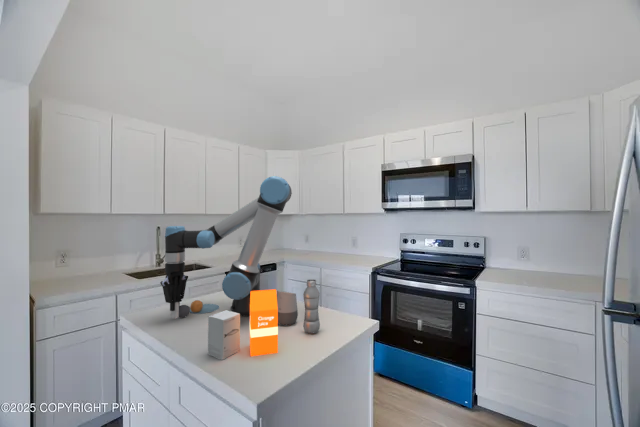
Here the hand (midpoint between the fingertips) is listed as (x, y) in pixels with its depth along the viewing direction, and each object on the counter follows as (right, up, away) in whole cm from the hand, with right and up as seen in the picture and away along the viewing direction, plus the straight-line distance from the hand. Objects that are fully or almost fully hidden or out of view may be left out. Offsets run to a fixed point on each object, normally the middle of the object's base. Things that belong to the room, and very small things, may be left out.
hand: (174, 317), depth 119 cm
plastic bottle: (+59, -2, -10) cm, 60 cm away
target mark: (+5, -2, +17) cm, 18 cm away
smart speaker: (+48, -2, -1) cm, 48 cm away
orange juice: (+43, -2, -25) cm, 49 cm away
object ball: (+4, +1, +12) cm, 13 cm away
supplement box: (+30, -2, -27) cm, 41 cm away
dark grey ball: (+1, +1, +6) cm, 6 cm away
